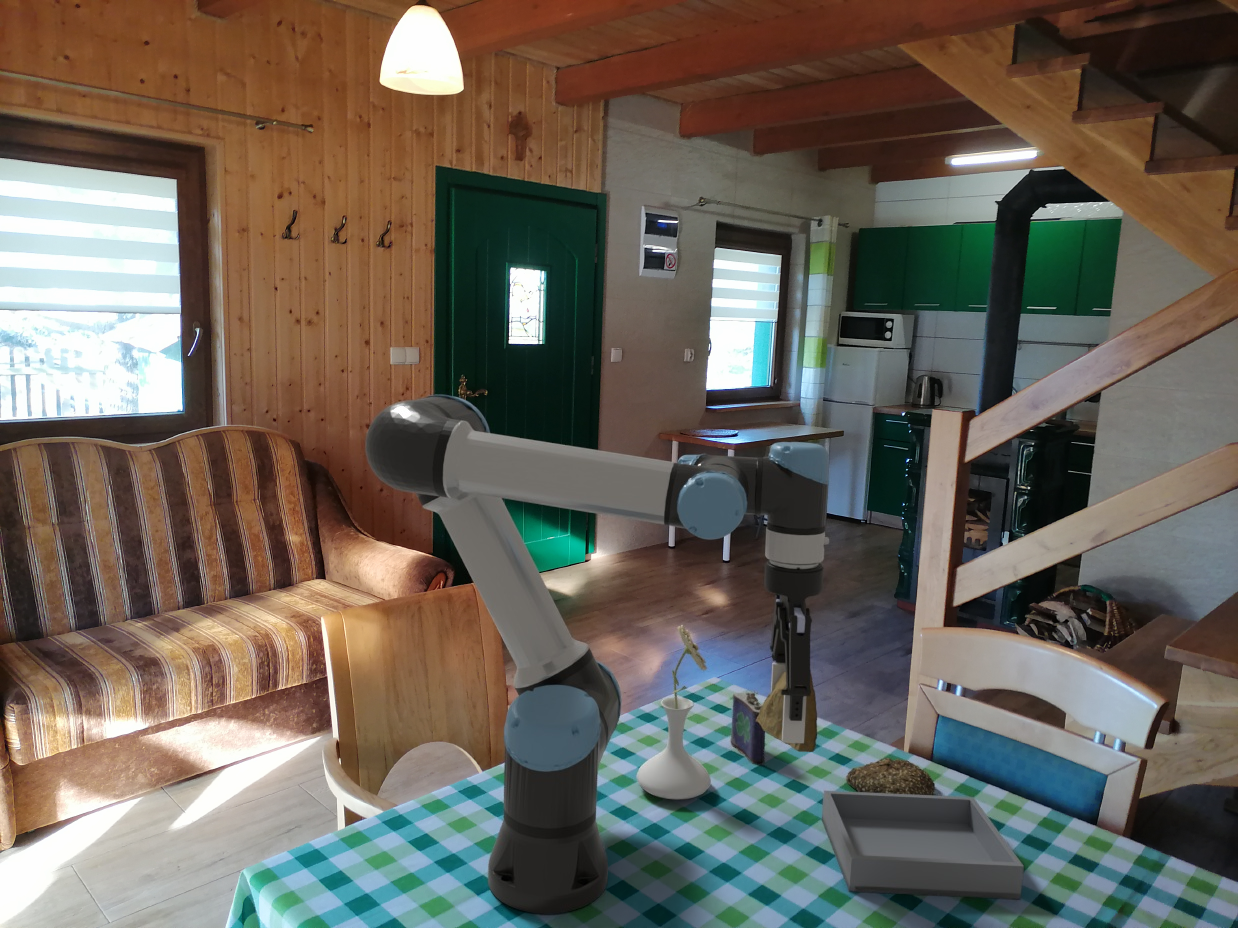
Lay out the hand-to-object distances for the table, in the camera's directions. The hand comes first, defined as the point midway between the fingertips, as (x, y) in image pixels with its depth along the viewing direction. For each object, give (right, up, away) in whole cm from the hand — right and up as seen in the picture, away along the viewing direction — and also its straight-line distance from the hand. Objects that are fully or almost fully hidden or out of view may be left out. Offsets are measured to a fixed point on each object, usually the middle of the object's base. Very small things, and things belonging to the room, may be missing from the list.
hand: (786, 724), depth 124 cm
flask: (-1, -14, +32) cm, 35 cm away
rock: (0, -2, 0) cm, 2 cm away
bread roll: (+21, -17, +22) cm, 34 cm away
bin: (+18, -19, +2) cm, 26 cm away
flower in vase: (-14, -15, +20) cm, 28 cm away
